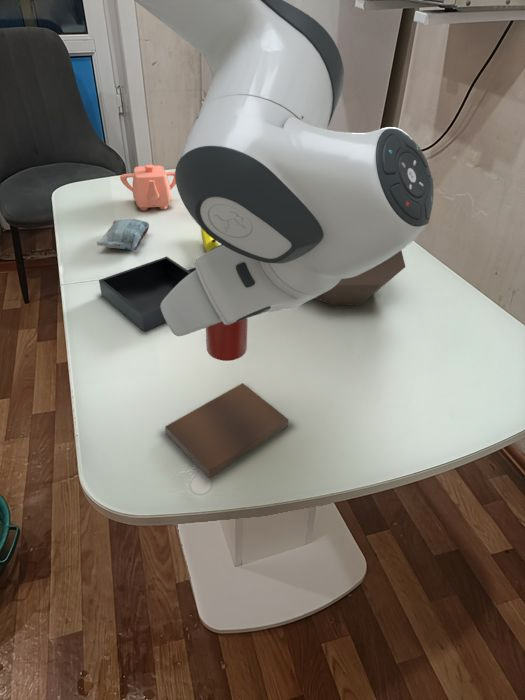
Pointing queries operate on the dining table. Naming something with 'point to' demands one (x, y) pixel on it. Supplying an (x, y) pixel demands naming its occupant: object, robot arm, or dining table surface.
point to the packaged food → (125, 234)
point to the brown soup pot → (364, 283)
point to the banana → (208, 241)
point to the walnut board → (226, 429)
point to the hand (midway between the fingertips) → (222, 302)
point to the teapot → (150, 186)
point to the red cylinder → (227, 340)
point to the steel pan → (143, 290)
